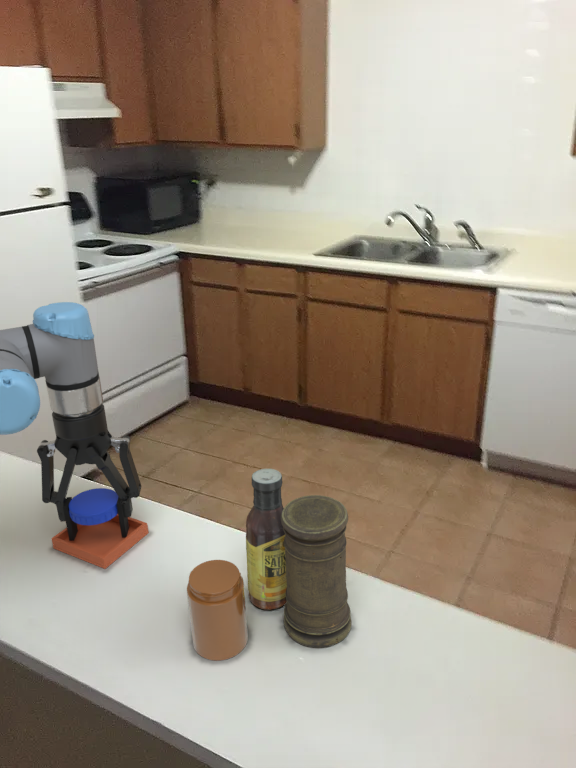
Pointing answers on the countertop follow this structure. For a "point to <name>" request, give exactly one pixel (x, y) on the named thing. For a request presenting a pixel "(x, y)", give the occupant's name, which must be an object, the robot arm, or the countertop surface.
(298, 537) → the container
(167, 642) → the countertop surface
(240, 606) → the jar
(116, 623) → the countertop surface
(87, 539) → the tray
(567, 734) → the countertop surface
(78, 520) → the lid
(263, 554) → the sauce bottle
